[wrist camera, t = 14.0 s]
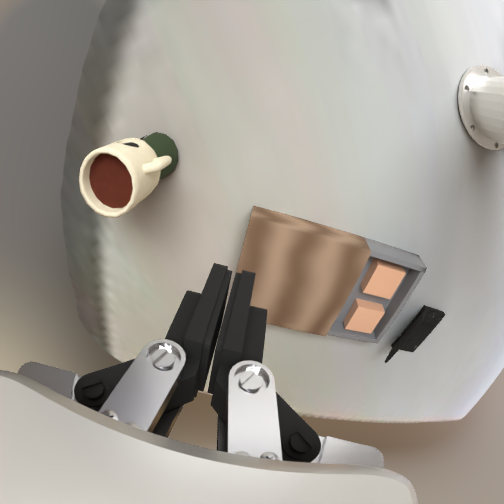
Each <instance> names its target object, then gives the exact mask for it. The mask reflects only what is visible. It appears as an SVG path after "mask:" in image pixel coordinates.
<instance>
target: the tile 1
mask: <svg viewBox="0 0 504 504" xmlns="http://www.w3.org/2000/svg"><path fill="white" fill-rule="evenodd" d="M384 313H385V311H384V308H383V305H382V304H379V303H375V302H370V301H366V300H361V299H357V298H356V299H355V301H354V303H353V305H352V306H351V308H350V310H349V312H348V313H347V315H346V317H345V319H344V320H343V321H344V327H345V329H347V330H353V331H358V332H364V333H369V334H371V333H372V331H373V330H374V328H375V327H376V325H377V324H378V322H379V321H380V319H381V318H382V316H383V315H384Z"/></svg>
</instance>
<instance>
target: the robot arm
mask: <svg viewBox="0 0 504 504" xmlns="http://www.w3.org/2000/svg"><path fill="white" fill-rule="evenodd" d="M458 104H459V111H460V115H461V118H462V121H463V124H464V126H465V128H466V130H467V131H468V133H469V135H470V136H471V137H472V138H473V140H474V141H475V142H477V143H478V144H479V145H481V146H482V147H484V148H487V149H489V150H500V149H502V148H504V77H503V75H502V74H501V73H499V72H498V71H497V70H495V69H494V68H491V67H489V66H484V65H478V66H474V67H472V68H470V69H468V70H467V71H466V73H465V74H464V75H463V77H462V79H461V82H460V85H459V92H458ZM227 268H228V266H224V265H220V264H216V263H214V265H213V267H212V269H211V272H210V274H209V277H208V279H207V282H206V284H205V287H204V289H203V292H202V294H200V293H196V292H192V291H187V292H186V294H185V296H184V298H183V300H182V302H181V304H180V307H179V309H178V311H177V313H176V315H175V317H174V320H173V322H172V324H171V326H170V329H169V331H168V333H167V335H166V338H165V339H158V340H153V341H151V342H149V343H148V344H147V345H146V346H145V347H144V348H143V349H142V350H141V352H140V353H139V355H138V356H137V357H136V359H133V360H130V361H127V362H124V363H121V364H118V365H115V366H112V367H109V368H105V369H102V370H99V371H96V372H92V373H89V374H86V375H84V376H79V375H77V373H76V372H72V371H67V370H63V369H59V368H55V367H52V366H48V365H44V364H40V363H37V362H28V363H25V364H24V365H22V366H21V368H20V369H19V371H18V373H14V372H10V371H4V370H0V504H418V501H417V496H416V493H415V490H414V488H413V486H412V484H411V483H410V482H409V480H408V479H406V478H405V477H403V476H402V475H400V474H398V473H395V472H392V471H390V470H387V469H383V468H384V457H383V455H382V454H381V452H380V451H379V450H378V449H376V448H374V447H371V446H366V445H362V444H357V443H353V442H349V441H345V440H341V439H336V438H333V437H329V436H327V437H325V438H324V437H320V436H318V435H317V434H316V432H315V431H314V430H313V429H312V428H311V427H310V426H309V425H308V424H307V423H306V422H305V421H304V420H303V419H302V418H301V417H300V416H299V415H298V414H297V413H296V412H295V411H294V410H293V409H292V408H291V407H290V406H289V405H288V404H287V403H286V402H285V401H284V400H283V399H282V398H281V397H280V396H279V395H278V393H277V392H276V389H275V380H274V376H273V374H272V372H271V371H270V369H269V368H267V367H266V366H265V365H263V364H262V358H263V349H264V340H265V331H266V322H267V309H263V308H259V307H254V306H250V303H251V298H252V292H253V286H254V281H255V275H256V273H254V272H249V271H245V270H242V273H238V272H236V275H235V278H234V282H233V286H232V289H231V293H230V297H229V300H228V304H227V308H226V311H225V315H224V310H225V304H226V299H227V294H228V289H229V284H230V279H231V274H232V271H229V270H227ZM223 315H224V319H223ZM222 320H223V322H222ZM221 324H222V326H221ZM220 328H221V330H220ZM219 331H220V333H219ZM218 335H219V337H218ZM217 339H218V341H217ZM216 343H217V345H216ZM215 346H216V349H215ZM214 350H215V355H214V360H213V365H212V371H211V377H210V382H209V388H208V393H211V394H213V396H212V401H211V406H212V407H213V408H214V410H215V411H216V412H217V414H218V420H217V421H218V422H217V450H211V449H208V448H203V447H199V446H195V445H191V444H187V443H183V442H180V441H176V440H173V439H169V438H168V436H169V434H170V432H171V430H172V428H173V426H174V425H175V423H176V421H177V418H178V416H179V414H180V413H181V411H182V409H183V406H184V404H186V403H188V402H191V401H193V400H194V397H196V396H197V392H198V390H199V391H204V387H205V383H206V380H207V376H208V372H209V368H210V365H211V361H212V357H213V354H214Z"/></svg>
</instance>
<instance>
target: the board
mask: <svg viewBox="0 0 504 504" xmlns="http://www.w3.org/2000/svg"><path fill="white" fill-rule="evenodd" d="M370 254H371V250H370V248H369V246H368V244H367V242H366V240H365V238H364V237H361V236H357V235H354V234H351V233H348V232H344V231H341V230H338V229H335V228H331V227H328V226H324V225H321V224H318V223H314V222H311V221H307V220H304V219H300V218H297V217H293V216H290V215H286V214H282V213H279V212H275V211H271V210H268V209H264V208H260V207H256V206H254V207H253V210H252V214H251V217H250V221H249V225H248V229H247V233H246V236H245V240H244V244H243V248H242V252H241V256H240V260H239V264H238V268H237V272H238V273H242V270H245V271H249V272H254V273H256V275H255V281H254V286H253V292H252V298H251V303H250V306H254V307H259V308H263V309H267V322H266V323H267V324H271V325H276V326H280V327H284V328H289V329H293V330H298V331H303V332H307V333H312V334H317V335H322V336H326V335H327V333H328V331H329V330H330V328H331V326H332V325H333V323H334V321H335V320H336V318H337V316H338V314H339V313H340V311H341V309H342V307H343V306H344V304H345V302H346V300H347V298H348V297H349V295H350V293H351V291H352V289H353V287H354V286H355V284H356V282H357V280H358V278H359V276H360V274H361V272H362V270H363V268H364V266H365V264H366V262H367V260H368V258H369V256H370Z"/></svg>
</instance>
